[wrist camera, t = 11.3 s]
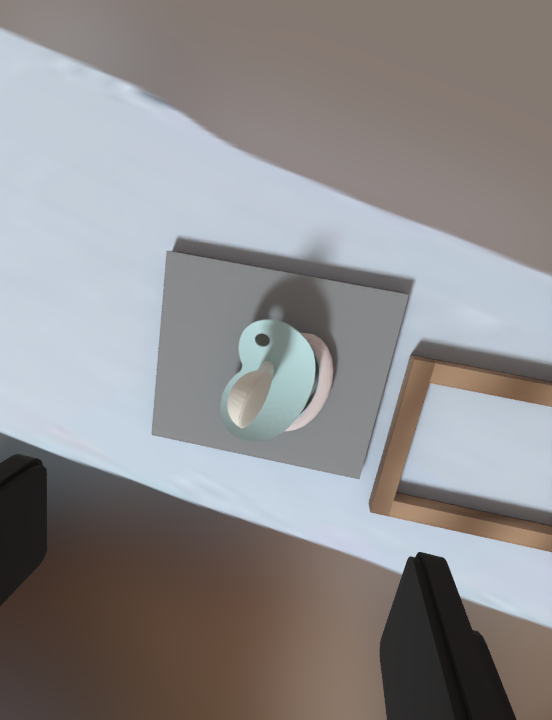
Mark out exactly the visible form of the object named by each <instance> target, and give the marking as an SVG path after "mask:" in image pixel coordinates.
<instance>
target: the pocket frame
mask: <svg viewBox="0 0 552 720" xmlns="http://www.w3.org/2000/svg"><path fill="white" fill-rule="evenodd" d="M429 383H433V384H438V385H443V386H448V387H453V388H458V389H463V390H468V391H474V392H479V393H484V394H489V395H494V396H499V397H504V398H509V399H515V400H520V401H525V402H530V403H535V404H540V405H545V406H550V407H552V382H549V381H544V380H539V379H533V378H528V377H523V376H518V375H513V374H507V373H502V372H497V371H492V370H486V369H481V368H476V367H471V366H465V365H460V364H455V363H450V362H445V361H439V360H434V359H429V358H424V357H418V356H413V355H410V359H409V362H408V366H407V369H406V373H405V376H404V380H403V383H402V387H401V390H400V394H399V397H398V401H397V404H396V408H395V412H394V415H393V419H392V422H391V426H390V429H389V433H388V436H387V440H386V443H385V447H384V450H383V454H382V457H381V461H380V465H379V468H378V472H377V475H376V479H375V482H374V486H373V489H372V493H371V496H370V500H369V507H370V512H371V513H376V514H380V515H385V516H390V517H394V518H399V519H403V520H408V521H412V522H417V523H421V524H426V525H431V526H435V527H440V528H444V529H449V530H453V531H458V532H463V533H467V534H472V535H476V536H481V537H485V538H490V539H495V540H499V541H504V542H508V543H513V544H517V545H522V546H526V547H531V548H536V549H540V550H545V551H549V552H552V526H549V525H544V524H539V523H535V522H530V521H525V520H521V519H516V518H511V517H507V516H502V515H497V514H493V513H488V512H483V511H479V510H474V509H469V508H465V507H460V506H455V505H451V504H446V503H441V502H437V501H432V500H428V499H423V498H418V497H414V496H409V495H404V494H400V493H396V491H397V488H398V484H399V481H400V478H401V475H402V471H403V468H404V465H405V462H406V458H407V455H408V452H409V448H410V445H411V442H412V439H413V435H414V432H415V429H416V425H417V422H418V419H419V416H420V412H421V409H422V406H423V402H424V399H425V396H426V393H427V389H428V386H429Z"/></svg>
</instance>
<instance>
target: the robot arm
mask: <svg viewBox="0 0 552 720" xmlns="http://www.w3.org/2000/svg"><path fill="white" fill-rule="evenodd" d="M46 551H47V472H46V468H45V467H44V466H43V464H42V462H41V460H39V459H37V458H32V457H29V456H24V455H20V454H16V455H13V456H11V457H10V458H8V459H6V460H5V461H3V462H2V463H0V606H1V605H2V604H3V603H4V601H6V599H8V597H9V596H10V595H11V594H12V593H13V592H14V591H15V590H16V589H17V588H18V587H19V586H20V584H22V583H23V582H24V581H25V580H26V578H27V577H28V576H29V575H30V574H31V573H32V572H33V571H34V570H35V569H36V568H37V567H38V566H39V565H40V563H41V562H42V561H43V559H44V557H45V555H46ZM380 663H381V671H382V679H383V689H384V697H385V705H386V714H387V720H516V717H515V715H514V712H513V710H512V707H511V705H510V703H509V700H508V697H507V695H506V692H505V690H504V687H503V685H502V682H501V680H500V677H499V675H498V672H497V669H496V667H495V664H494V662H493V659H492V657H491V654H490V652H489V649H488V647H487V644H486V643H485V640H484V638H483V636H482V635H481V634H480V633H479V632H478V631H474V630H472V628H471V625H470V623H469V620H468V617H467V615H466V612H465V609H464V606H463V604H462V601H461V598H460V596H459V593H458V590H457V588H456V585H455V582H454V580H453V577H452V574H451V572H450V569H449V566H448V564H447V561H446V560H445V559H444V558H443V557H439V556H434V555H430V554H426V553H422V552H418V554H417V555H416V557H409V558H408V560H407V562H406V565H405V568H404V571H403V574H402V577H401V580H400V584H399V587H398V589H397V592H396V595H395V598H394V601H393V604H392V608H391V610H390V613H389V616H388V620H387V623H386V625H385V629H384V631H383V635H382V638H381V642H380Z"/></svg>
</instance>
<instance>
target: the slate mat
mask: <svg viewBox="0 0 552 720" xmlns="http://www.w3.org/2000/svg"><path fill="white" fill-rule="evenodd" d="M408 297H409V295H408V294H406V293H401V292H396V291H390V290H385V289H379V288H373V287H368V286H362V285H357V284H351V283H346V282H340V281H335V280H329V279H324V278H318V277H313V276H307V275H302V274H296V273H291V272H285V271H280V270H274V269H269V268H263V267H258V266H252V265H247V264H241V263H236V262H230V261H225V260H219V259H213V258H208V257H202V256H197V255H191V254H186V253H180V252H175V251H167V254H166V267H165V279H164V291H163V303H162V315H161V327H160V339H159V351H158V363H157V375H156V387H155V399H154V412H153V424H152V435H155V436H159V437H164V438H169V439H173V440H178V441H183V442H187V443H192V444H197V445H201V446H206V447H211V448H215V449H220V450H225V451H229V452H234V453H239V454H243V455H248V456H253V457H257V458H262V459H267V460H272V461H276V462H281V463H286V464H290V465H295V466H300V467H304V468H309V469H314V470H318V471H323V472H328V473H332V474H337V475H342V476H346V477H351V478H356V479H360V475H361V471H362V468H363V464H364V460H365V456H366V453H367V449H368V445H369V442H370V438H371V434H372V430H373V427H374V423H375V419H376V416H377V412H378V408H379V404H380V401H381V397H382V393H383V390H384V386H385V382H386V378H387V375H388V371H389V367H390V364H391V360H392V356H393V352H394V349H395V345H396V341H397V337H398V334H399V330H400V326H401V323H402V319H403V315H404V311H405V308H406V304H407V300H408ZM263 319H273V320H278V321H281V322H284V323H287V324H288V325H290V326H292V327H294V328H295V329H296V330H298V331H299V332H300V333H308V334H313V335H315V336H317V337H319V338H320V339H322V341H323V342H324V343H325V344H326V346H327V347H328V349H329V351H330V354H331V356H332V362H333V380H332V386H331V389H330V392H329V396H328V398H327V400H326V402H325V404H324V405H323V407H322V409H321V410H320V411H319V413H318V414H317V415H316V416H315V418H313V419H312V420H311V421H310V422H309V423H307V424H306V425H305V426H303V427H301V428H299V429H296V430H291V431H284V432H283V433H281V434H279V435H278V436H276V437H274V438H271V439H268V440H263V441H256V442H251V441H245V440H242V439H239V438H237V437H236V436H234V435H233V434H232V433H231V432H229V431H228V429H227V428H226V426H225V425H224V422H223V420H222V416H221V411H220V407H221V399H222V395H223V392H224V390H225V387H226V386H227V384H228V383H229V381H230V380H231V379H232V378H233V377H234V376H235V375H236V374H237V373H239V372H240V371H241V369H242V362H241V360H240V355H239V341H240V337H241V335H242V333H243V331H244V330H245V328H247V327H248V326H249V325H250V324H252V323H254V322H256V321H258V320H263ZM256 341H257V343H258V344H260V345H262V346H266V345H268V344H269V343H270V339H269V337H268V336H267V335H266V334H262V333H261V334H257V335H256ZM314 358H315V379H314V383H313V387H312V390H311V393H310V396H309V398H308V401H307V403H306V405H307V404H308V402H309V401H310V400H311V398H312V396H313V394H314V392H315V390H316V387H317V383H318V378H319V366H318V363H317V360H316V357H315V356H314ZM306 405H305V406H306Z"/></svg>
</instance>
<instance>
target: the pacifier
mask: <svg viewBox="0 0 552 720" xmlns="http://www.w3.org/2000/svg"><path fill="white" fill-rule="evenodd" d="M261 333H262V334H266V335H267V336H268V337H269V339H270V343H269V344H268V345H266V346H262V345H260V344H258V343H257V341H256V335H257V334H261ZM239 355H240V360H241V362H242V369H241V371H240V372H239V373H237V374H236V375H235V376H234V377H233V378H232V379H231V380H230V381H229V383H228V384H227V386H226V387H225V390H224V392H223V395H222V399H221V407H220V411H221V416H222V420H223V422H224V425H225V426H226V428H227V429H228V431H229V432H231V433H232V434H233V435H234V436H236V437H237V438H239V439H242V440H245V441H251V442H256V441H263V440H268V439H271V438H274V437H276V436H278V435H279V434H281V433H283V432H284V431H291V430H296V429H299V428H301V427H303V426H305V425H306V424H307V423H309V422H310V421H311V420H312V419H313V418H315V416H316V415H317V414H318V413H319V411H320V410H321V409H322V407H323V405H324V404H325V402H326V400H327V398H328V396H329V392H330V389H331V386H332V380H333V362H332V356H331V354H330V351H329V349H328V347H327V346H326V344H325V343H324V342H323V341H322V339H320V338H319V337H317V336H315V335H313V334H308V333H300V332H299V331H298V330H296V329H295V328H294V327H292V326H290V325H288V324H287V323H284V322H281V321H278V320H273V319H263V320H258V321H256V322H254V323H252V324H250V325H249V326H248V327H247V328H245V330H244V331H243V333H242V335H241V337H240V341H239ZM314 356H315V357H316V360H317V363H318V366H319V378H318V383H317V387H316V390H315V392H314V394H313V396H312V398H311V400H310V401H309V402H308V404H307V405H306V403H307V401H308V398H309V396H310V393H311V390H312V387H313V383H314V379H315V358H314ZM305 405H306V406H305Z"/></svg>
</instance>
